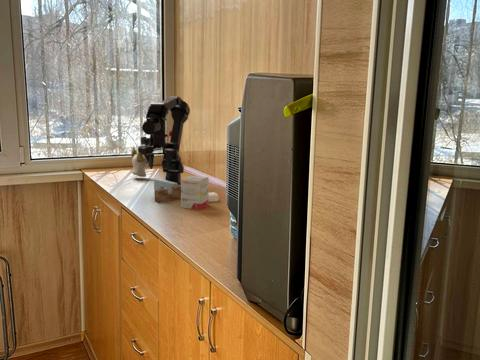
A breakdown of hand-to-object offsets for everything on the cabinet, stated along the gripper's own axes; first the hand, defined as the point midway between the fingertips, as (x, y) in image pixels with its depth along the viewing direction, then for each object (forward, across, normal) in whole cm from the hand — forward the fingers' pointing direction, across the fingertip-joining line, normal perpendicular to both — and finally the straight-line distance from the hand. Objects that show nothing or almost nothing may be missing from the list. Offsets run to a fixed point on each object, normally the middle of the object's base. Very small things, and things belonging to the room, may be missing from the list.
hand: (159, 167), depth 214 cm
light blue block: (+10, 0, +4) cm, 11 cm away
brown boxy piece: (+10, +7, +15) cm, 20 cm away
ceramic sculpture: (+11, -11, -28) cm, 32 cm away
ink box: (+11, +7, +30) cm, 33 cm away
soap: (+11, -3, +26) cm, 28 cm away
